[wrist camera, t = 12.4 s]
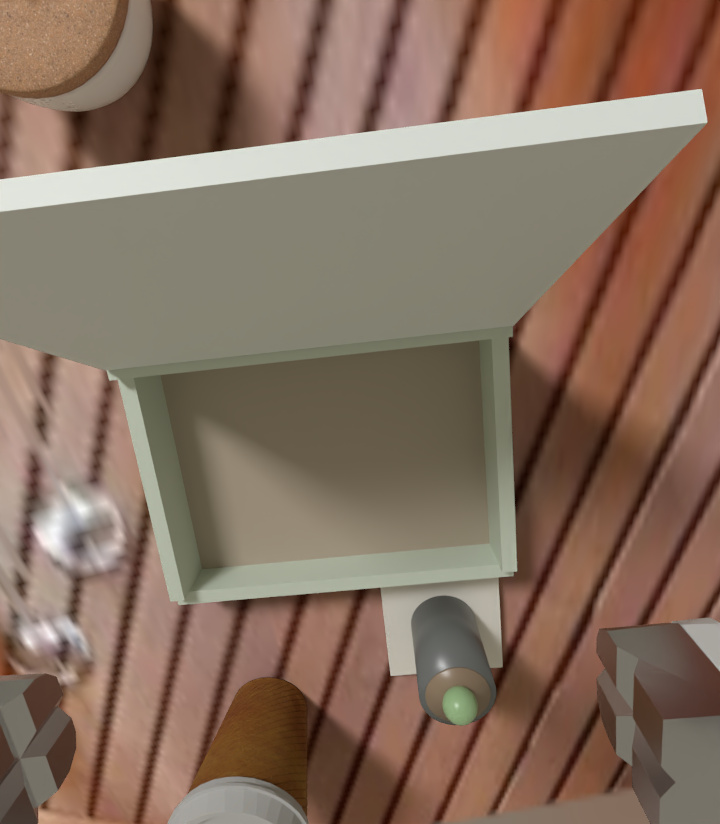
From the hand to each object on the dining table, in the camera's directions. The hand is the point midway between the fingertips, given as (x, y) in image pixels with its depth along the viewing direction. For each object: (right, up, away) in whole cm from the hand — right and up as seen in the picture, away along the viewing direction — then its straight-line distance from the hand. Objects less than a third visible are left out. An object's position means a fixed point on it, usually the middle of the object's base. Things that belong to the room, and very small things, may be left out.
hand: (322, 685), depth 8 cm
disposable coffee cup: (-7, -21, +36) cm, 42 cm away
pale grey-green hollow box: (-2, +4, +29) cm, 29 cm away
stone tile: (+7, -12, +33) cm, 36 cm away
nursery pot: (+7, -12, +33) cm, 36 cm away
